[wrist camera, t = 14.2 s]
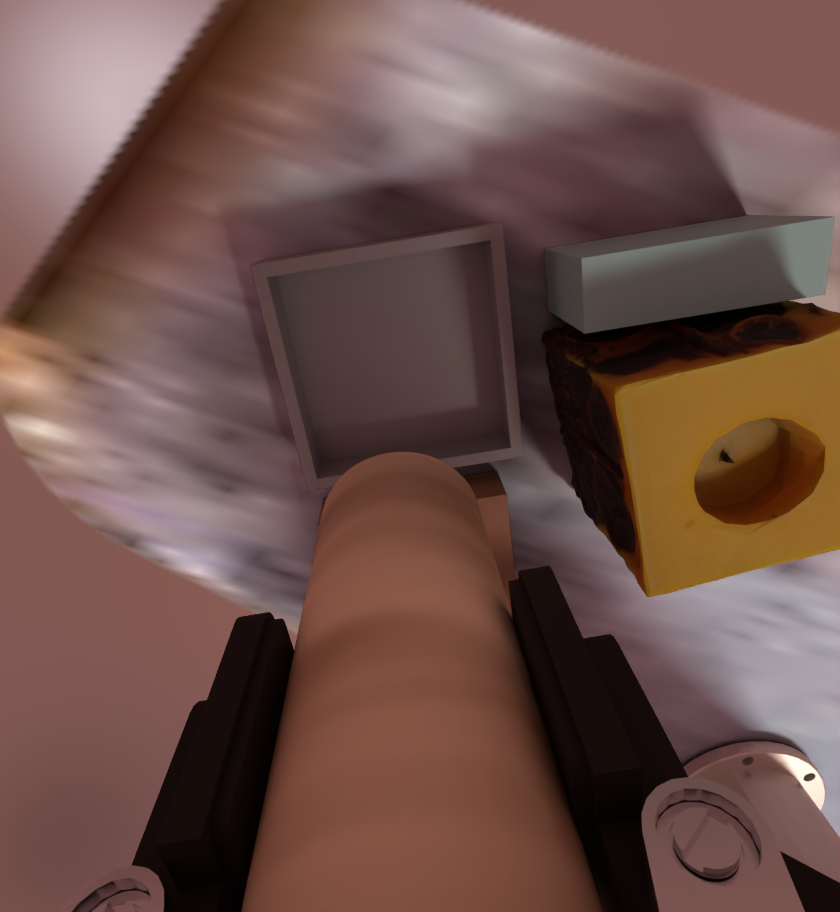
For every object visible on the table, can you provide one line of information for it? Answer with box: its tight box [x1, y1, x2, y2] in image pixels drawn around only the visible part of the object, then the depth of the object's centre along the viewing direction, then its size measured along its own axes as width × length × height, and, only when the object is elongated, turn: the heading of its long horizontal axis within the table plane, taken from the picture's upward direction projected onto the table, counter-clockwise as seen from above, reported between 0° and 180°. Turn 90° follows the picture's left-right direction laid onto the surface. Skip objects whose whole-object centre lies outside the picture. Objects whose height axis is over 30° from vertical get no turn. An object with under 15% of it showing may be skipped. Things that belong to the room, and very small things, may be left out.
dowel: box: [241, 452, 604, 912], centre depth 9 cm, size 4×4×12 cm
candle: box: [541, 301, 840, 597], centre depth 27 cm, size 10×10×10 cm
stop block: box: [544, 215, 835, 334], centre depth 26 cm, size 3×10×6 cm, turn 99°
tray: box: [250, 222, 524, 491], centre depth 29 cm, size 11×11×3 cm
